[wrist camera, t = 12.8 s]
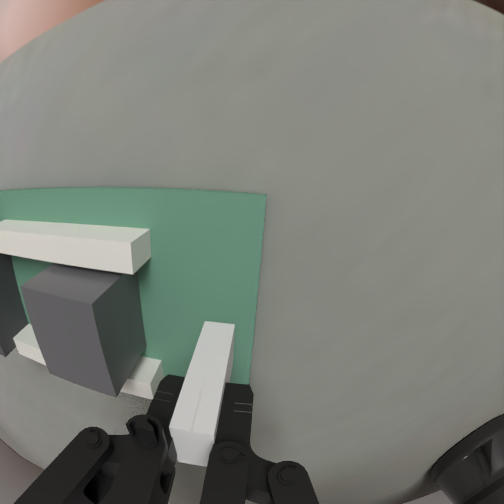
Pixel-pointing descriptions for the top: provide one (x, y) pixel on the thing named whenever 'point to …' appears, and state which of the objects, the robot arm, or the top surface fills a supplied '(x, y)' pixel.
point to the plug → (87, 324)
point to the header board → (180, 259)
